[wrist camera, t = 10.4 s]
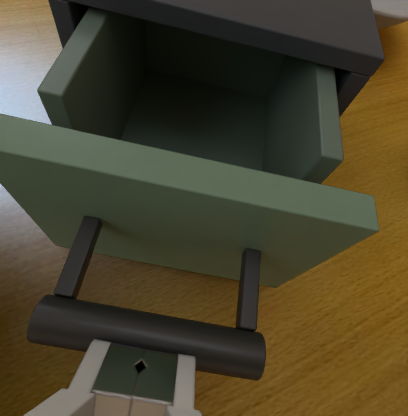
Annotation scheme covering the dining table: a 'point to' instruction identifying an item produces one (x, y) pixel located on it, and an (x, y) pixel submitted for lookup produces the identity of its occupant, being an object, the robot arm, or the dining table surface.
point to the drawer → (180, 179)
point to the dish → (390, 12)
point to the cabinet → (263, 29)
